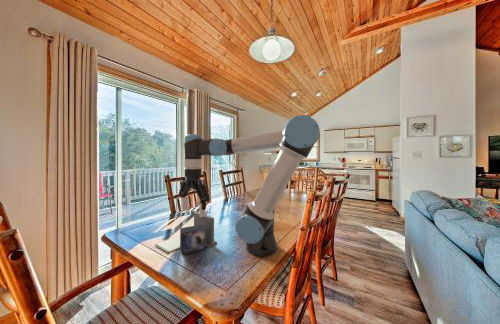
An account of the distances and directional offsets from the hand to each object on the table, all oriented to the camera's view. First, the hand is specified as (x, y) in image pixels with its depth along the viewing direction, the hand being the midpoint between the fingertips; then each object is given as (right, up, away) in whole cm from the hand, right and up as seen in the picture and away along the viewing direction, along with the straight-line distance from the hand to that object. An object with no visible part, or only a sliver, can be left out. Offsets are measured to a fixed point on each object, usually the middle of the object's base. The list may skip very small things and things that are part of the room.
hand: (193, 213), depth 92 cm
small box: (-1, -18, +1) cm, 18 cm away
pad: (-10, -17, +7) cm, 21 cm away
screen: (+3, -17, +9) cm, 20 cm away
